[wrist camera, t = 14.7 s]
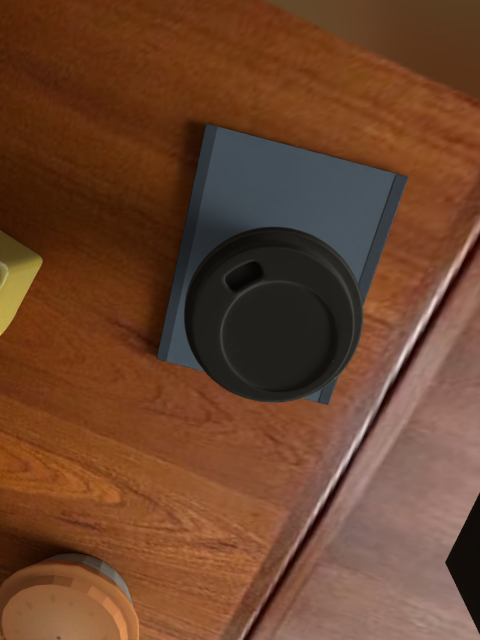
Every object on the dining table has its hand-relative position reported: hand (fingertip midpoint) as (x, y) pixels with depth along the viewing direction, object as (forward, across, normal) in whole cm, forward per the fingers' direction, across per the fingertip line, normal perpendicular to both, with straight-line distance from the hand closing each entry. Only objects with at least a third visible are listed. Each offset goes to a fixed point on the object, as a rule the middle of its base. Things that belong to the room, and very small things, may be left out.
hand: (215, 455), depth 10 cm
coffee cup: (+26, +2, 0) cm, 26 cm away
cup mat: (+26, +1, 0) cm, 26 cm away
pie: (+26, -10, -39) cm, 48 cm away
